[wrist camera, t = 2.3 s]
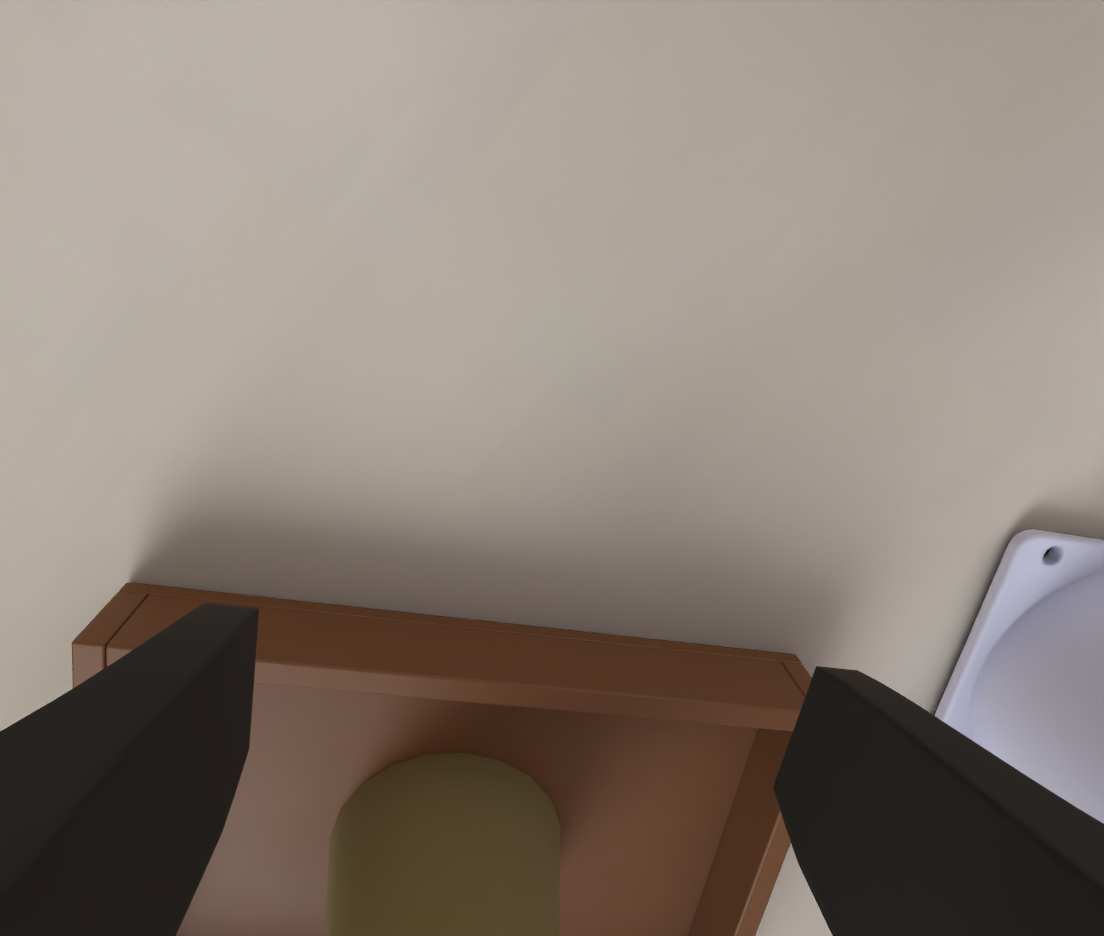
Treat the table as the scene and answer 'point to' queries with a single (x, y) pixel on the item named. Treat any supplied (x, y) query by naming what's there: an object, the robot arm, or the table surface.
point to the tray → (496, 755)
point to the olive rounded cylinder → (445, 853)
